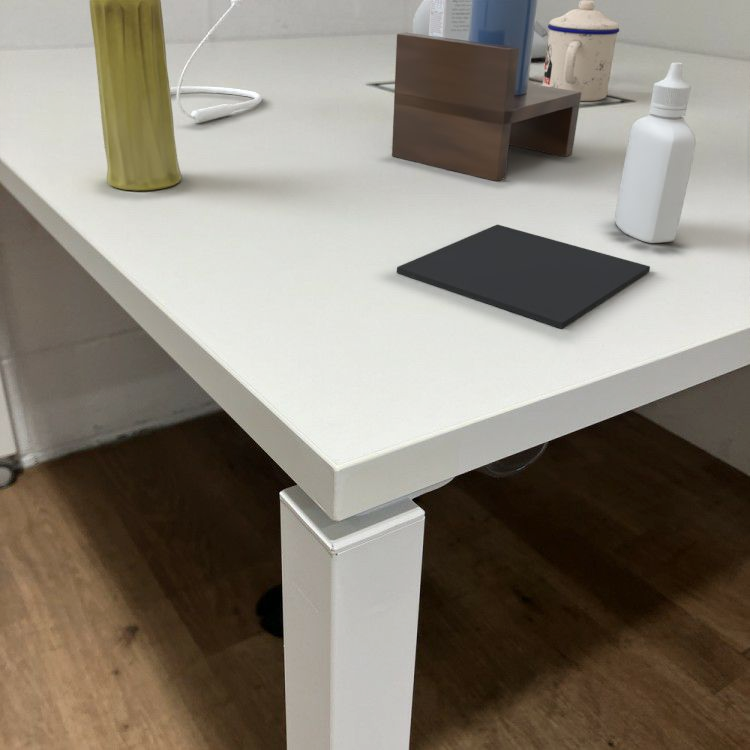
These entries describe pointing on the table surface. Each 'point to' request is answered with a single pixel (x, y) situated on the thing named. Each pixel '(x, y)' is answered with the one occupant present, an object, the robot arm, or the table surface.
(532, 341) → the table surface
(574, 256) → the mat
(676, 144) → the eye dropper bottle
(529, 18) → the cup
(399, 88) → the shelf
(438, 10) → the cracker box
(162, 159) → the vase
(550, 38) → the teacup with lid
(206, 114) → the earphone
